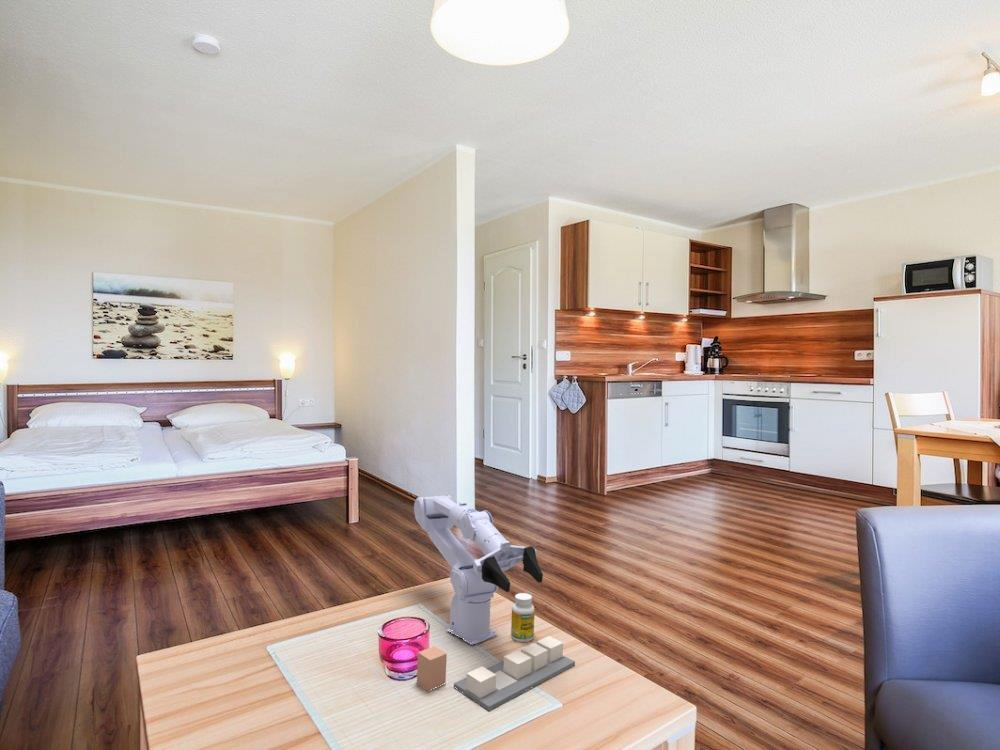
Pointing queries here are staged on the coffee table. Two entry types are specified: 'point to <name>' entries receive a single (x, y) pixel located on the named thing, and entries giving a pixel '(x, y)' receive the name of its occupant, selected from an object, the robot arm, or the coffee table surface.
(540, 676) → the block set board
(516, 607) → the supplement bottle
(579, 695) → the coffee table surface
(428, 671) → the terracotta block
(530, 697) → the coffee table surface
